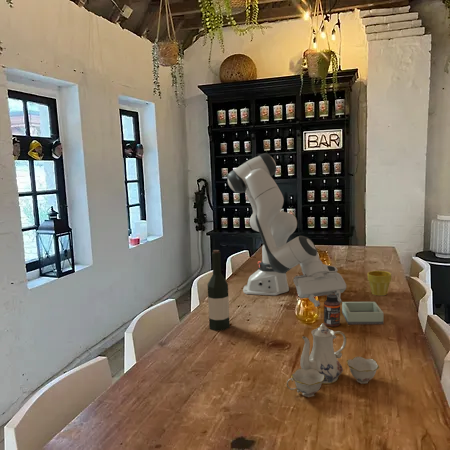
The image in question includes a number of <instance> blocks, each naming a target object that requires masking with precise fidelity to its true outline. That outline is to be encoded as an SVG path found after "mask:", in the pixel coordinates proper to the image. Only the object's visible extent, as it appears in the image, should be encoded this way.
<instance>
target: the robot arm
mask: <svg viewBox="0 0 450 450" xmlns="http://www.w3.org/2000/svg"><path fill="white" fill-rule="evenodd" d="M277 169H278V168H277V164H276V161H275V159H274V158H273V157H272V156H271V154H269V153H267V152H266V153H261V154H258V155H257V156H255V157H253V158H251V159H248V160H247V161H245V162H243V163H242V164H241V165H239V166H238V167H236V168H235V169H232V170H231V171H230V172H229V173H228V174H227V175H226V176H227V177H226V178H227V185H228V186H229V188H230V189H231V190H232V191H233V192H234V193H236V194H243V193H245V195H246V197H247V199H248V201H249V204H250V205H251V208H252V214H251V216H250V218H249V224H250V227H251V229H252V230H253V231H255V232H258V233H259V235H260V237H261V240H262V243H263V244H262V247H261V256H262V257H261V258H262V259H261V260H262V261H261V260H259V261H257V265H258V267H257V270H256V271H255V272H253V273H252V274H251V275H249V277H248V280H247V284H245V285H244V286H243V289H242V292H243V293H244V294H246V295H261V296H262V295H263V296H278V295H280V294H284V293H287V292H289V290H290V287H289V285H288V280H287V279H288V278H287V272H289V271H290V270H292V269H293V268H295V267H297V266H298V265H300V268H301V272H302V274H300V275H296V276H294V277H293V278H292V279H293V280H292V281H293V283H294V285H295V289H296V292H297V295H298V297H299V298H300V299H308V300H309V301H310V302H311V303H312V304H313V305H314V307H315V308H316V307H317V308H318V307H320V305H321V303H320V300H317V299H316V298H315V297H320V296H321V297H322V296H327V295H330V294H333V295H337V297H338V299H337V300H338V301H339V302H340V304H342V302H343V301H342V299H341V298H342V297H341V294H343V293H344V292H345V291H346V290H347V283H346V281H345V279H344V278H343V276H342V275H341V273H339V272H338V271H339V270H338V268H337V267H336V266H333V265H329V264H324V263H323V261H322V260H321V259H320V256H319V252H318V249H317V247H316V245H315V244H314V242H313V241H312V239H311V238H310V237H307V236H304V235H299V236H296V237H295V238H293V239H291V240H289V241H288V239H289V238H290V237H291V235H293V233H294V232H295V231H296V229H297V227H298V220H297V217H296V216H295V215H294V214H292V213H290V212H286V211H281V210H282V208H283V206H284V200H285V199H284V195H283V193H282V191H281V190H280V188H279V186H278V184H277V183H276V181H275V179H274V178H273V176H274V175H275V174H276V172H277ZM287 241H288V242H287Z"/></svg>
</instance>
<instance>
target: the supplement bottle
mask: <svg viewBox="0 0 450 450" xmlns="http://www.w3.org/2000/svg"><path fill="white" fill-rule="evenodd" d="M337 299H338V297H337V295H335V294H329V295H326V300H325V301H324V302H323V323H324V325H325V326H326V327H334V328H335V327H338V326H340V325H341V303H340V302H339V301H338V300H337Z"/></svg>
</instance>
